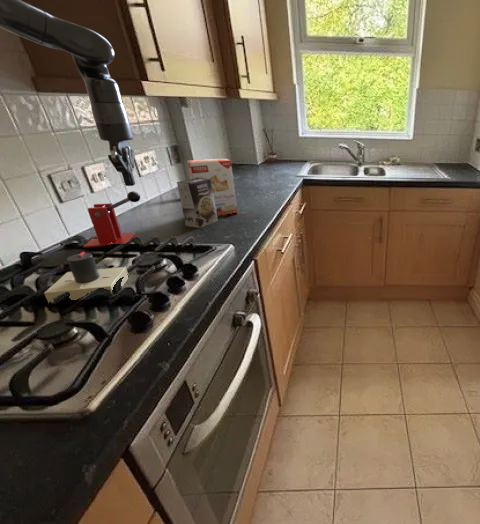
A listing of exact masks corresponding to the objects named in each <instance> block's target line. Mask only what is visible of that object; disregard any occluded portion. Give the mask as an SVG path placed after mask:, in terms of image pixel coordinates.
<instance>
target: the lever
mask: <svg viewBox="0 0 480 524" xmlns="http://www.w3.org/2000/svg"><path fill="white" fill-rule="evenodd" d="M139 201H141V195H140V193H139V192H137V191H133V190H132V191H129V192H127V195H126V198H124V199H122V200H120V201H117V202H115V203H112V205H111V206H109V207H107V209H108V213H110V210H112V209H114V210H115V209H116V208H118V207H120V206H122V205H124V204H127V203H128V202H131V203H138V202H139ZM102 207H106V206H105V205H104V206H102Z"/></svg>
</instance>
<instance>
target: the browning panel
mask: <svg viewBox="0 0 480 524" xmlns="http://www.w3.org/2000/svg"><path fill="white" fill-rule="evenodd" d="M97 269H98V272H99V275H100V277H99V278H98V279H96V280H94V281H91V282H87V283H77V282H76V281H75V279H74V276H73V274H72V271H66V272H65V273H64V274H63V275H62V276H61V277H60V278H59V279H58V280H57V281H55V283H53V284H52V285H51V286H50V287H49V288H47V290H45V291H44V292H43V294H44V296H45V299H46V301H47V303H48V304H49V302H50V301H51V300H52V299H53V298H55V297H57V296H58V295H60V294H63V293H65V292H69V293H70V296H69V298H70V299H71V300H77V299H79V298H81V297H83V296H85V295H86V294H87V293H90V292H91V291H94V290H96V289H98V288H104V289H107V290H110V291H112V290H113V287H114V285H115V284H116V282H117V281H118V280H119V279H120V278H122V277H124V278H123V279H122V282H121V286H122V287H123V286H124V285H125V284H126V283H127V281H128V279H129V278H128V275H129V272H128V270H127V266H121V267H120V266H119V267H107V268H97ZM127 274H128V275H127Z"/></svg>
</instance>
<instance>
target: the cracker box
mask: <svg viewBox="0 0 480 524" xmlns="http://www.w3.org/2000/svg"><path fill="white" fill-rule="evenodd" d="M186 162H187V168H188V173H189V179H194V178H207V179H211V183H212V189H213V195H214V201H215V207H216V212H217V217H219V216H220V215H223V216H228V215H227V214H231V215H233V214H232V213H238V214H239V212H238V205H237V198H236V191H235V190H236V189H235V182H234V174H233V168H232V167H233V166H232V161H231V160H230V159H229V158H208V159H190V160H186Z"/></svg>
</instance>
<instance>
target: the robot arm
mask: <svg viewBox="0 0 480 524" xmlns="http://www.w3.org/2000/svg"><path fill="white" fill-rule="evenodd" d="M0 29H3V30H4V31H7V32H9V33H11V34H14V35H16V36H18V37H21V38H23V39H26V40H28V41H31V42H33V43H35V44H38V45H41V46H43V47H47V48H49V49H55V50H61V51H64V52H66V53H69V54H71V57H72V61H73V62H74V64H75V66H76V69H77V70H78V72H79V74H80V77H81V78H82V80H83V82H84V85H85V90H86V93H87V96H88V100H89V102H90V107H91V113H92V117H93V119H94V120H93V121H94V123H95V126H96V130H97V133H98V136H99V139H100V140H101V141H103V142H104V141H105V142H108V145H109V148H108V149H109V153H110V154H108V155H107V158H108V160H109V161H110V163H111V165H112V167H114V169H115V170H116V172H118V173H120V174H121V176H122V179H123V182H124V186H125V187H134V186H135V185H136V180H135V176H134V173H133V172H134V169H135V151H134V149H132V148H131V147H130V146H129V143H128V141H132V140H133V139H134V135H133V131H132V127H131V123H130V119H129V116H128V112H127V109H126V108H125V105H124V101H123V98H122V97H123V96H122V94H121V91H120V90H121V89H120V87H119V84H118V82H117V81H116V80H115V79H114V78H112V77H111V74H110V72H109V69H108V65H110V64H111V63H112V62H113V61H114V60H115V55H116V54H115V50H114V47H113V46H112V44H111V42H109V40H108V39H107V38H105V37H104V36H103V35H101V34H100V33H98V32H97V31H94V30H92V29H90V28H87V27H85V26H82V25H79V24H76V23H74V22H71V21H69V20H65V19H62V18H59V17H56V16H54V15H52V14H51V13H49V12H46V11H45V10H43V9H41V8H38V7H36V6H34V5H32V4H30V3H28V2H25V1H23V0H0Z"/></svg>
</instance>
